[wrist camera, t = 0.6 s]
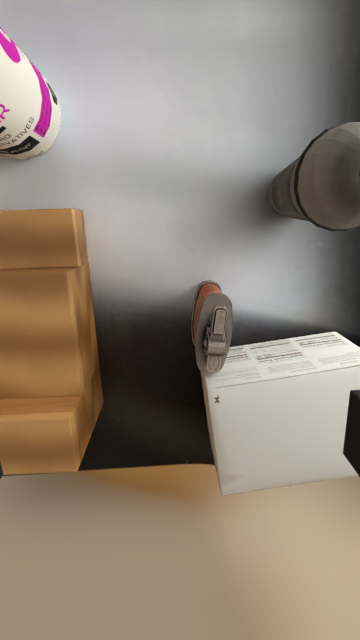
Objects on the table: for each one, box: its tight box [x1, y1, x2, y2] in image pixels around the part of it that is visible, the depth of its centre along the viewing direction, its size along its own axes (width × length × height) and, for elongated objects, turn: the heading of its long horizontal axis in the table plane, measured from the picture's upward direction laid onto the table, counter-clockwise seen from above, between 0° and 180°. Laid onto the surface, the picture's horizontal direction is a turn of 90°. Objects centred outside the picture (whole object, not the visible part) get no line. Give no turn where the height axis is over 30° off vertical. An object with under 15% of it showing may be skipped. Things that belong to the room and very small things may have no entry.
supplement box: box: [201, 332, 360, 496], centre depth 37 cm, size 17×13×9 cm
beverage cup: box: [268, 122, 360, 231], centre depth 25 cm, size 7×7×20 cm
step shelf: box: [0, 209, 104, 475], centre depth 32 cm, size 23×10×12 cm, turn 2°
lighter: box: [191, 281, 233, 374], centre depth 33 cm, size 8×3×10 cm, turn 174°
